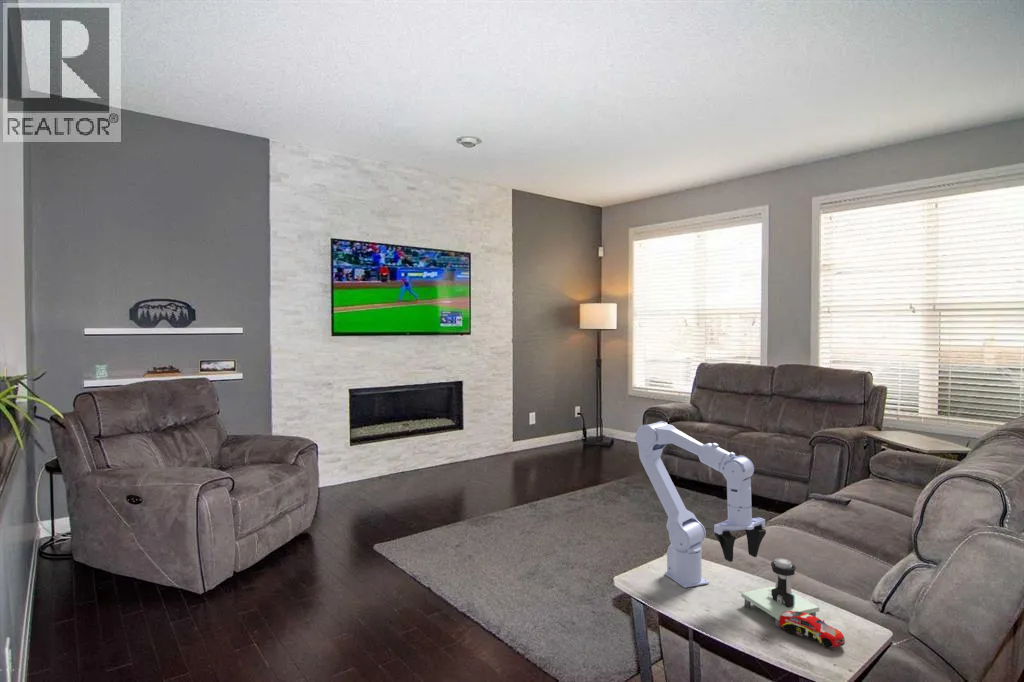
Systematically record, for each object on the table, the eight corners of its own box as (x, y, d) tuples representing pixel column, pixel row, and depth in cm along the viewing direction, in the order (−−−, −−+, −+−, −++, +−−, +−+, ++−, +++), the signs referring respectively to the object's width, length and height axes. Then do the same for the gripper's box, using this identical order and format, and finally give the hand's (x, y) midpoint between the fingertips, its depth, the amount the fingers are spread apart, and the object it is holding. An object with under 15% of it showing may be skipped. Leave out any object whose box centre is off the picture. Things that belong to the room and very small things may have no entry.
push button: (761, 598, 132) (761, 557, 132) (775, 593, 135) (775, 553, 135) (786, 610, 127) (786, 567, 126) (800, 604, 129) (800, 563, 129)
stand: (741, 604, 135) (741, 592, 135) (779, 596, 139) (779, 585, 139) (779, 629, 124) (779, 616, 124) (819, 619, 128) (819, 607, 128)
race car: (849, 644, 117) (848, 625, 117) (838, 653, 114) (838, 634, 114) (787, 620, 127) (787, 603, 127) (776, 627, 124) (775, 610, 124)
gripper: (726, 512, 132) (728, 568, 132) (773, 505, 137) (775, 559, 137) (707, 504, 139) (709, 557, 139) (753, 498, 144) (754, 549, 144)
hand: (740, 558), depth 138 cm, fingers open, 7 cm apart
